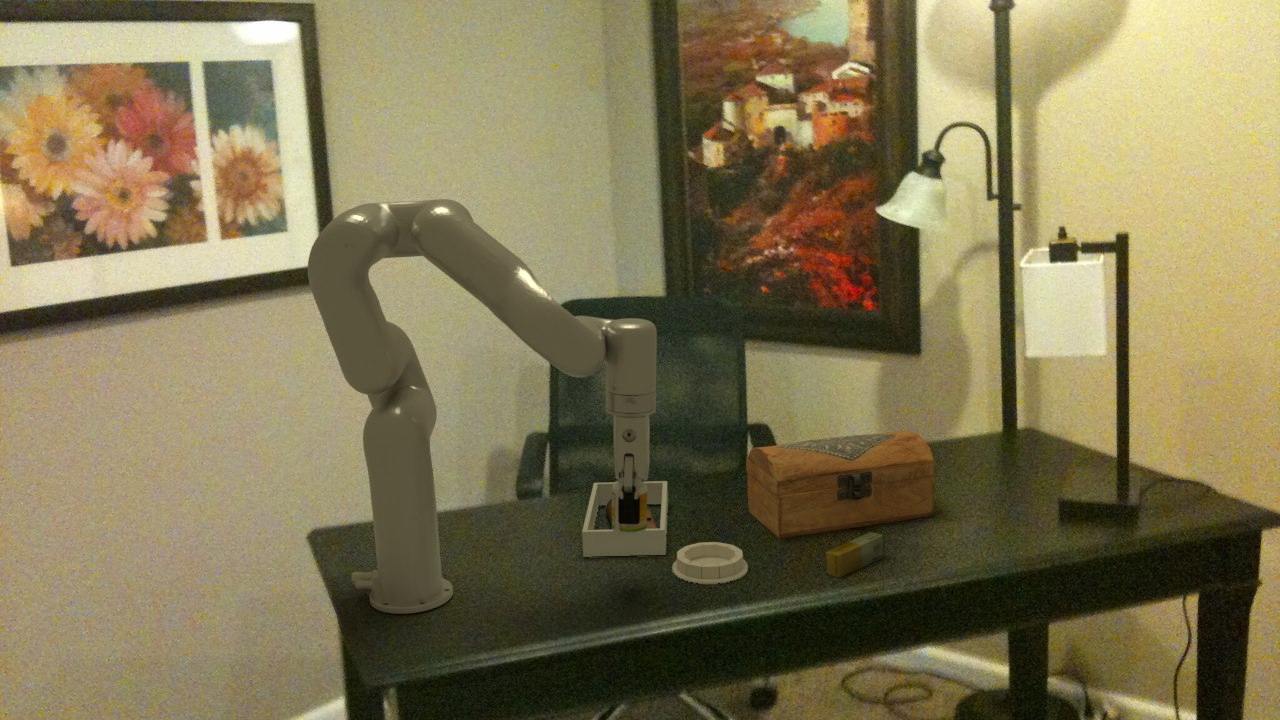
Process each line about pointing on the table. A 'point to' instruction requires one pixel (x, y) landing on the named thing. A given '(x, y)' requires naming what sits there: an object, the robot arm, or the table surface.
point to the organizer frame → (624, 544)
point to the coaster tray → (710, 563)
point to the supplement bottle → (642, 494)
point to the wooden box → (841, 482)
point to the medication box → (855, 554)
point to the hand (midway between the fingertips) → (629, 515)
